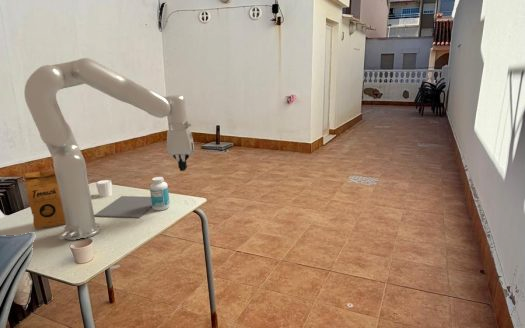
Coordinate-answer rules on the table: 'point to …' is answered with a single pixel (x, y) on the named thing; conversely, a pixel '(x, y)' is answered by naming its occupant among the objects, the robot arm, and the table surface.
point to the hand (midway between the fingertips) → (183, 169)
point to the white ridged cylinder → (104, 188)
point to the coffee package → (44, 199)
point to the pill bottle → (159, 194)
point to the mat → (126, 207)
